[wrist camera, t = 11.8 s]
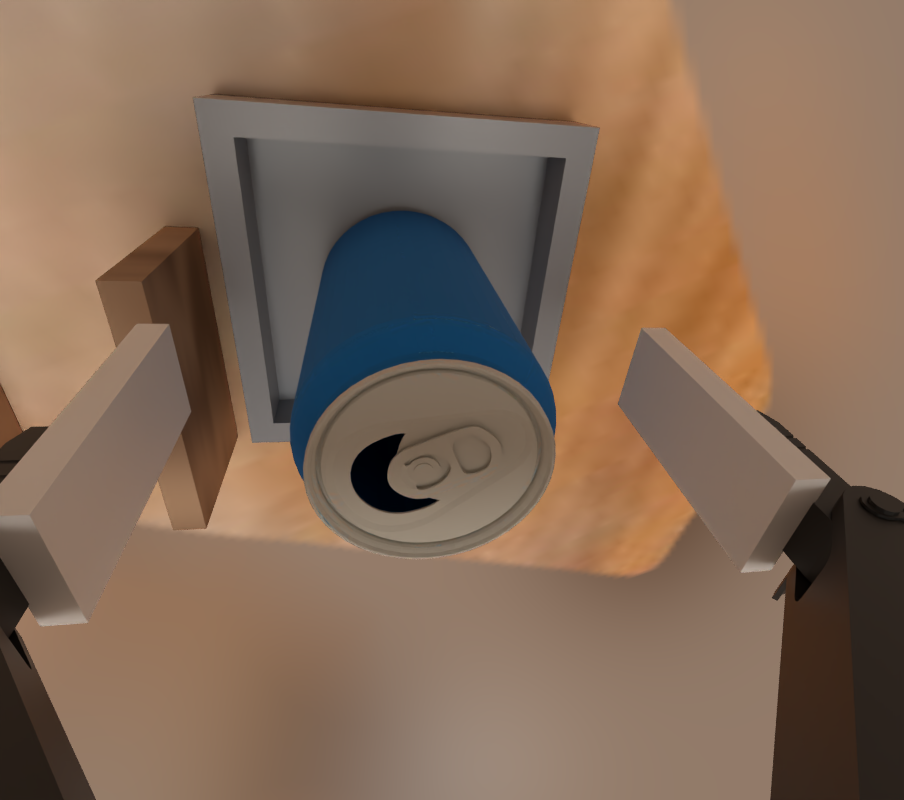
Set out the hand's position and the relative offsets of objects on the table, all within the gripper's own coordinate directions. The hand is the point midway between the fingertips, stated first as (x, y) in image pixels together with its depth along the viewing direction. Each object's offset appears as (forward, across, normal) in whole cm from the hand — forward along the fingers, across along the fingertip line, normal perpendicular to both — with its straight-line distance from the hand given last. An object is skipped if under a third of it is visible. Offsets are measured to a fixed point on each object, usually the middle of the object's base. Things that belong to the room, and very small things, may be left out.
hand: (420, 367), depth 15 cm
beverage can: (+8, 0, -1) cm, 8 cm away
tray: (+8, 0, -1) cm, 8 cm away
